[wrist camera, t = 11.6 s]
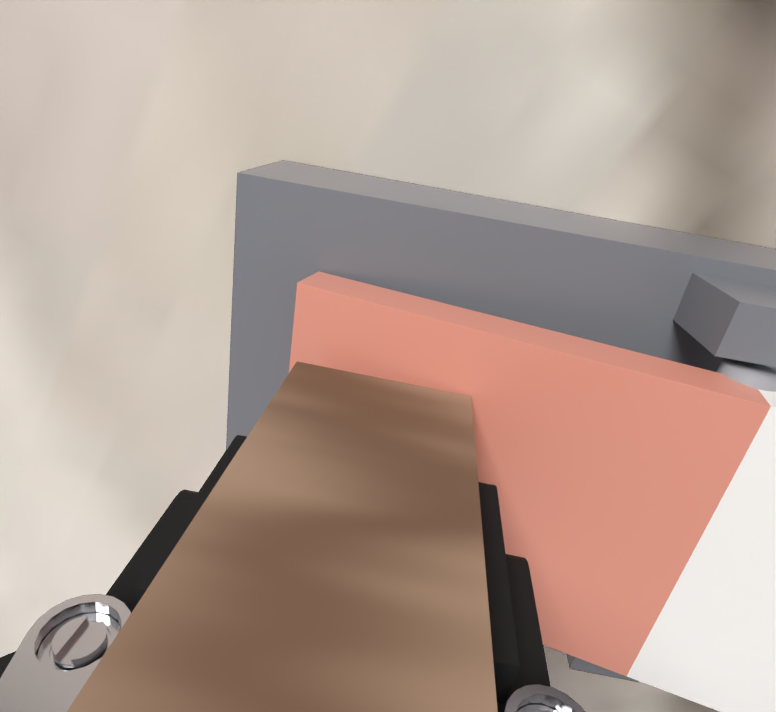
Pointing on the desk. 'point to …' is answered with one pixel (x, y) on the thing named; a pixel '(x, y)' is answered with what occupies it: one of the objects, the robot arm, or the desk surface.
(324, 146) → the desk surface
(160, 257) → the desk surface
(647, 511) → the breaker rocker
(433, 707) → the peg
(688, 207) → the desk surface
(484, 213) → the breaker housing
